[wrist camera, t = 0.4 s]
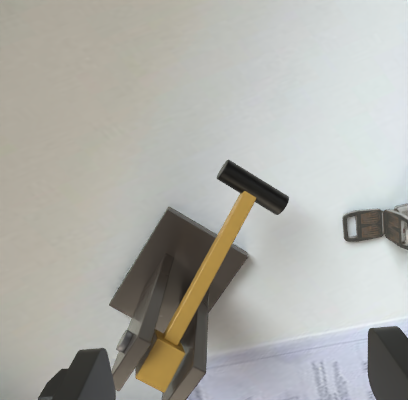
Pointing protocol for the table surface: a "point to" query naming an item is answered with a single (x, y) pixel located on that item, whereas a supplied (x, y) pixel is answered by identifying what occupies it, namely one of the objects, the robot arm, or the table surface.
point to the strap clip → (380, 225)
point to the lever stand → (170, 298)
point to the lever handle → (206, 275)
